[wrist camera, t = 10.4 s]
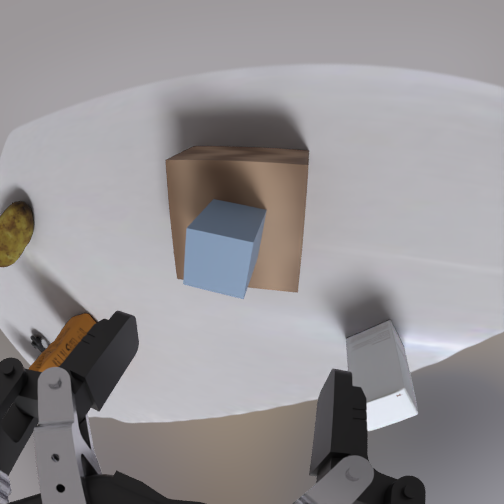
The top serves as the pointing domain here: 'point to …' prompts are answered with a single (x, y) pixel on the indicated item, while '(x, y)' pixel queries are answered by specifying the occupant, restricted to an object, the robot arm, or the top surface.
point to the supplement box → (382, 375)
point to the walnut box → (245, 202)
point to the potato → (15, 232)
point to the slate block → (223, 247)
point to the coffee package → (64, 343)
